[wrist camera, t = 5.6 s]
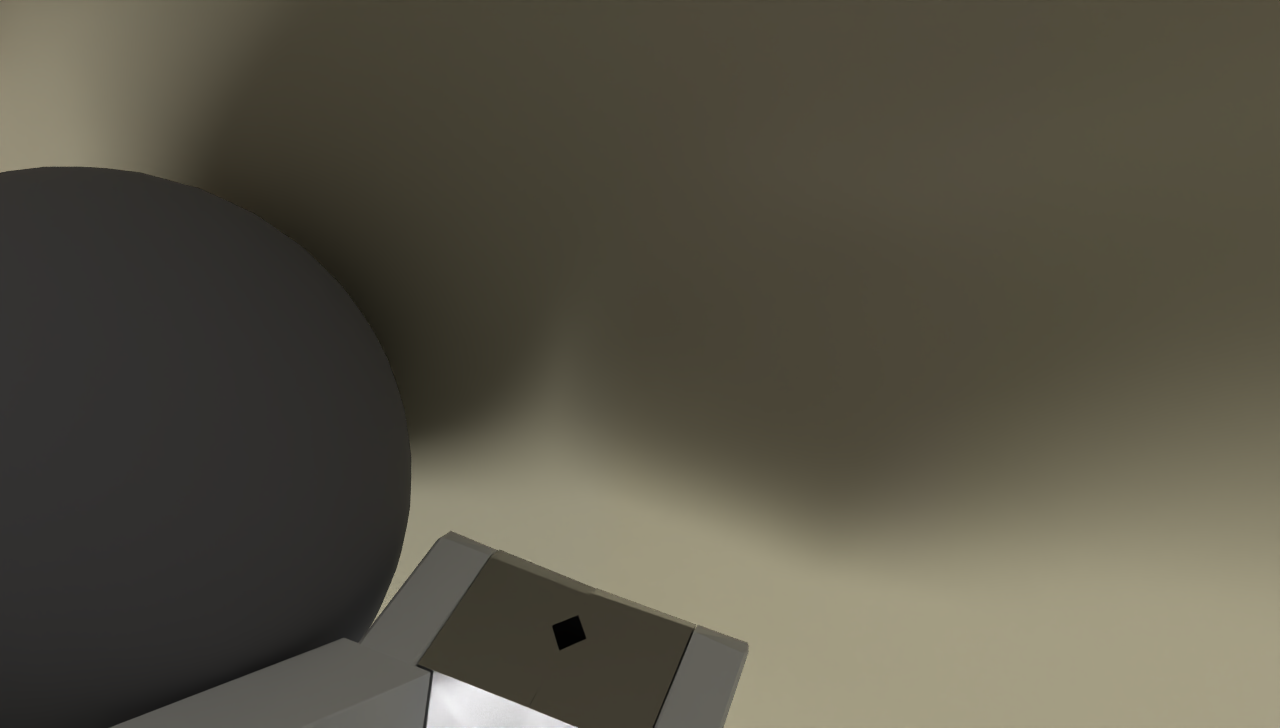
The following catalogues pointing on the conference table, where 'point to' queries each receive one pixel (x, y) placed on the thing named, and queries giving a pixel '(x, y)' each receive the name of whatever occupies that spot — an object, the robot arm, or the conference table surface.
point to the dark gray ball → (179, 448)
